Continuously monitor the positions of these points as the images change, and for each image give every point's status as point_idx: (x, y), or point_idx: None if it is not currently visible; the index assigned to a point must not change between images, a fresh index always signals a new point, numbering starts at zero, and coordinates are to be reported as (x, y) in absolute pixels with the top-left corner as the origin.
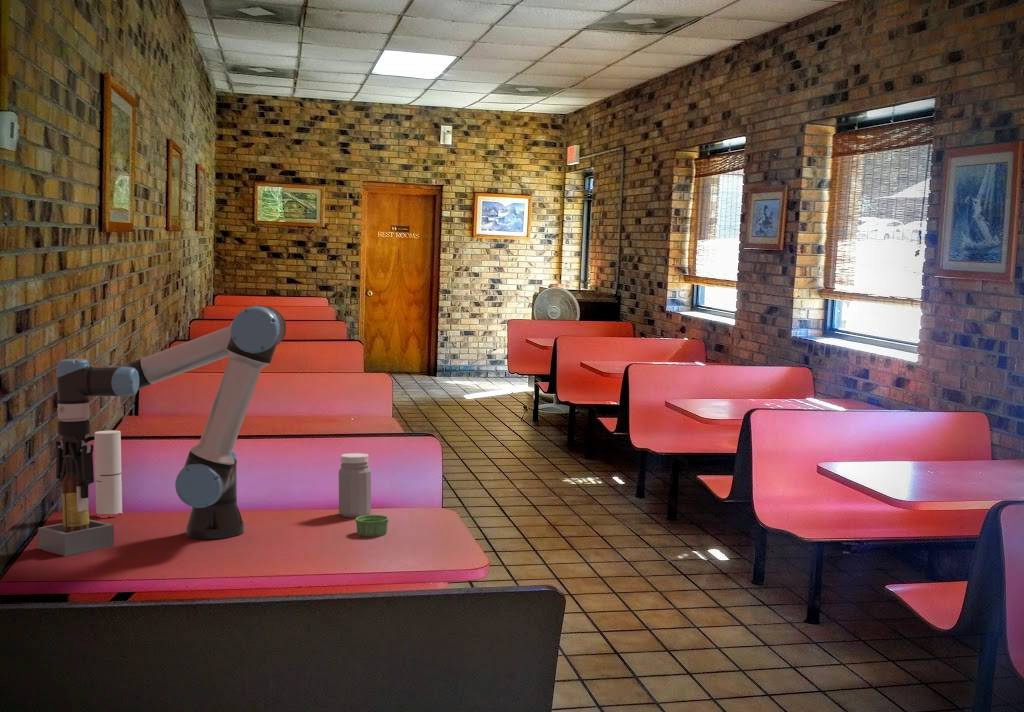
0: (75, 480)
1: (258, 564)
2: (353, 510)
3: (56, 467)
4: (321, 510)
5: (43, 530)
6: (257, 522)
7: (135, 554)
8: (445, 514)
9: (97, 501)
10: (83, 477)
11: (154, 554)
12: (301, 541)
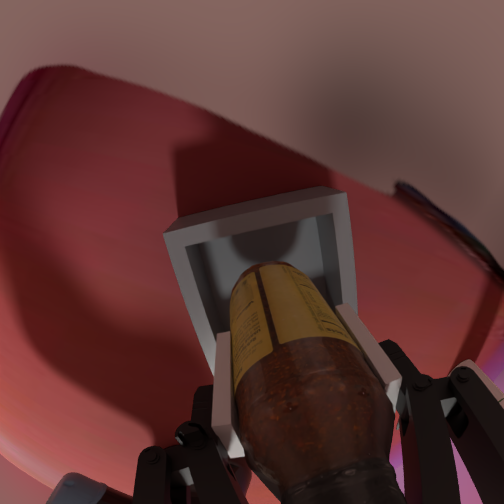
0: (252, 450)
1: (10, 404)
2: None
3: (500, 409)
4: None
5: (308, 198)
6: None
7: (106, 347)
8: None
9: (479, 377)
10: (150, 480)
11: (92, 368)
12: (101, 475)
